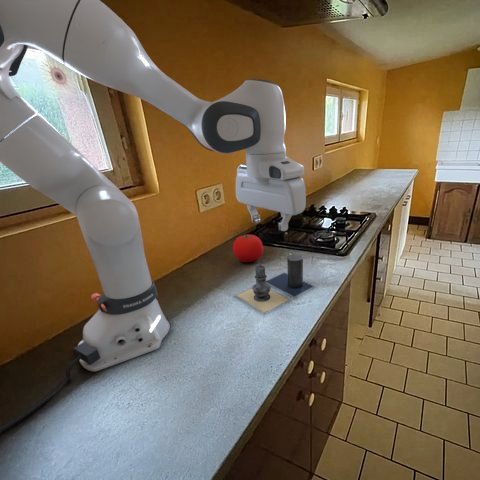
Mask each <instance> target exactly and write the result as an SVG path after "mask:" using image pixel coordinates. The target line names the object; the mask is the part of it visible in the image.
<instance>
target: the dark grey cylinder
mask: <svg viewBox="0 0 480 480" xmlns="http://www.w3.org/2000/svg"><path fill="white" fill-rule="evenodd" d="M286 259H287V260H286V261H287V263H286V264H287V274H288V286H289V287H290V288H295V289H296V288H300V287H302V286H303V282H304V257H303V256H302V255H301V254H289V255H288V256H287V258H286Z"/></svg>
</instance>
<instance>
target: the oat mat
mask: <svg viewBox="0 0 480 480" xmlns="http://www.w3.org/2000/svg"><path fill="white" fill-rule="evenodd" d="M269 295H270V299H269V300H267V301H265V302H258V301H256V300H254V296H255V294H254V292H253V290H252V287H250V288H248V289H246V290H244V291H242V292H240V293H238V294H236V295H235V296H236V297H238V298H239V299H241V300H242V301H244V302H246V303H247V304H249V305H250V306H252V307H254V308H255V309H257V310H258V311H260V312H261V313H263V314H265V313H267V312H268V311H269V312H270V311H271V310H272V309H274V308H277V307H278V306H280V305H282V304H284V303H285V302H288V301H289V299H288V298H286V297H285V296H283V295H281V294H279V293H277V292H275V291H273V290H272V289H270V292H269Z"/></svg>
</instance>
